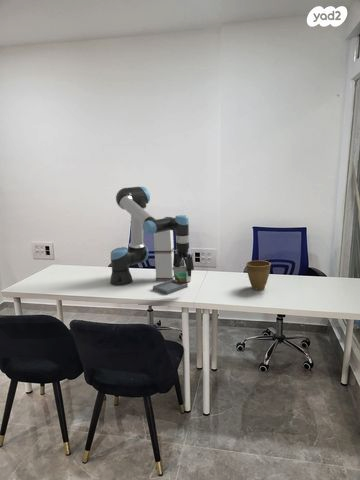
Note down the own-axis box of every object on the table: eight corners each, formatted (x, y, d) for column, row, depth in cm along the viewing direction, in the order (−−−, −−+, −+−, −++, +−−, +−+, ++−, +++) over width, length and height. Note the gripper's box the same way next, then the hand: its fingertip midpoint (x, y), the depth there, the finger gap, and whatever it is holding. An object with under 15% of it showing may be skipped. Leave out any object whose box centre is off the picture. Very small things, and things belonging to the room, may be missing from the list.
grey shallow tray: (153, 289, 219) (152, 286, 219) (173, 282, 231) (173, 279, 230) (167, 294, 209) (167, 290, 209) (187, 287, 221) (187, 283, 221)
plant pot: (275, 287, 214) (275, 262, 211) (261, 293, 204) (261, 268, 201) (255, 282, 225) (255, 258, 222) (241, 288, 215) (241, 263, 212)
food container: (175, 285, 199) (174, 269, 197) (172, 282, 205) (172, 266, 203) (195, 283, 202) (195, 266, 200) (192, 279, 208) (192, 263, 205)
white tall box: (174, 275, 245) (172, 227, 238) (172, 280, 235) (170, 230, 228) (159, 275, 247) (156, 228, 240) (156, 280, 237) (153, 230, 230)
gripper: (165, 240, 203) (167, 277, 208) (190, 245, 189) (191, 285, 194) (175, 238, 208) (176, 274, 213) (199, 243, 194) (200, 281, 199)
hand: (183, 279), depth 204 cm, fingers closed on food container, 8 cm apart
